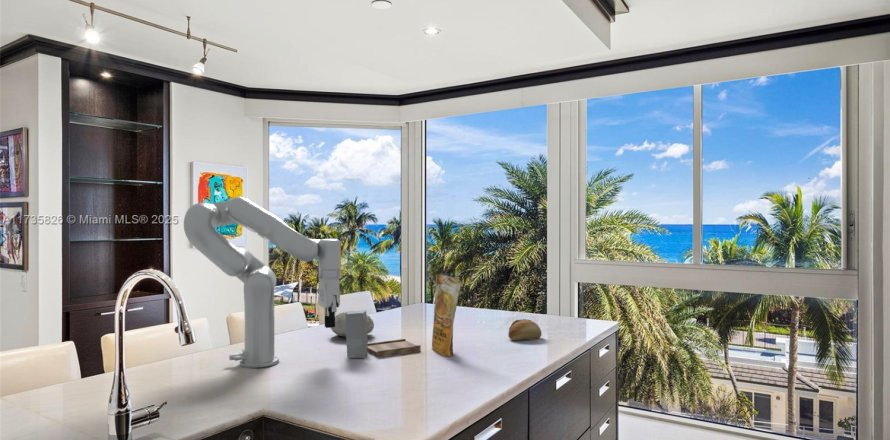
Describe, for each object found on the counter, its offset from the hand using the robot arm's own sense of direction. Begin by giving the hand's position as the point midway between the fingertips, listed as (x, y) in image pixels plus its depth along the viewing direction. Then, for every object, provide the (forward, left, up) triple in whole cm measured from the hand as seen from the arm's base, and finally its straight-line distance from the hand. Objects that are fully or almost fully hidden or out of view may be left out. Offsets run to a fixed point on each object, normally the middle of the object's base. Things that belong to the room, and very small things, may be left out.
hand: (329, 327), depth 182 cm
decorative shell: (+20, +30, -12) cm, 38 cm away
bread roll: (+79, -10, -12) cm, 80 cm away
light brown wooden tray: (+24, 0, -11) cm, 26 cm away
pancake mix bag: (+40, -11, -12) cm, 43 cm away
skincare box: (+10, 0, -12) cm, 15 cm away
